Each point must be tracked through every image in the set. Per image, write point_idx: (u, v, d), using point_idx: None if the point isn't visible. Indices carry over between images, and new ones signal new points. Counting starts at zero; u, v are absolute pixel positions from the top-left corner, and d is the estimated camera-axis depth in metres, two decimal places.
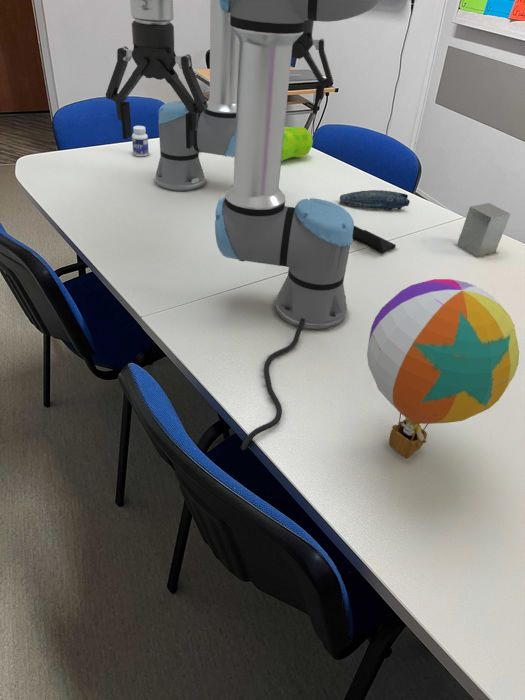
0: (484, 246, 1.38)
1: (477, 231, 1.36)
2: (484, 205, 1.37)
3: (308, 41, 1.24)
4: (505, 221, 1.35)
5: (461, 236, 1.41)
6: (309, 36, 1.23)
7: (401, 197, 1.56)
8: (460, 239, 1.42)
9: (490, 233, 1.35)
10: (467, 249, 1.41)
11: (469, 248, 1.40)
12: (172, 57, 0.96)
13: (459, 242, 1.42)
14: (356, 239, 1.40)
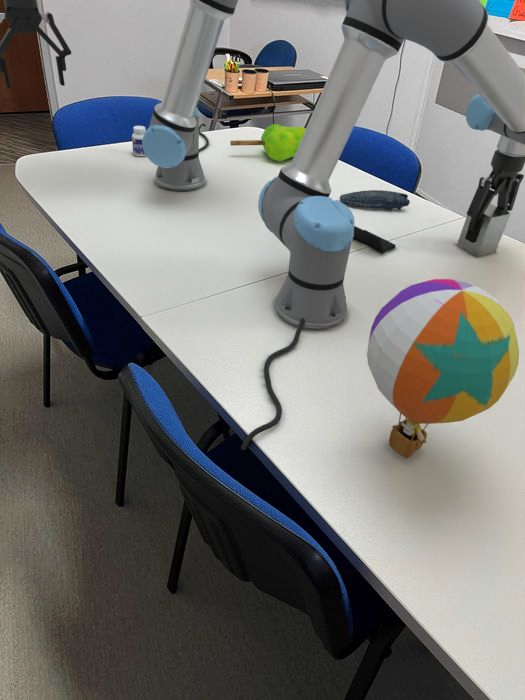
0: (484, 246, 1.38)
1: None
2: None
3: (515, 174, 1.30)
4: (505, 221, 1.35)
5: (461, 236, 1.41)
6: None
7: (401, 197, 1.56)
8: (460, 239, 1.42)
9: (490, 233, 1.35)
10: (467, 249, 1.41)
11: (469, 248, 1.40)
12: None
13: (459, 242, 1.42)
14: (356, 239, 1.40)
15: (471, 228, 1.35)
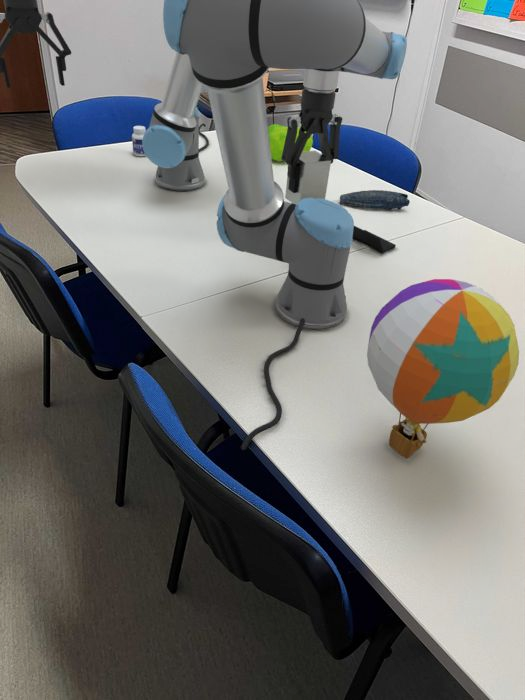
0: (306, 197, 1.27)
1: None
2: (307, 152, 1.27)
3: (330, 115, 1.19)
4: (326, 169, 1.25)
5: (287, 187, 1.31)
6: (330, 110, 1.19)
7: (401, 197, 1.56)
8: (286, 190, 1.31)
9: (309, 182, 1.24)
10: (292, 201, 1.30)
11: (293, 199, 1.29)
12: None
13: (286, 194, 1.32)
14: (356, 239, 1.40)
15: (289, 176, 1.25)
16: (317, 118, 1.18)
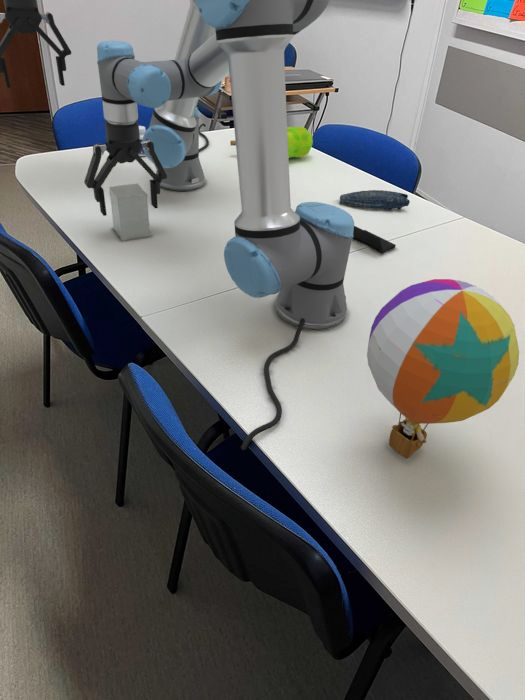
0: (128, 229, 1.30)
1: (116, 213, 1.29)
2: (127, 186, 1.30)
3: (138, 145, 1.22)
4: (143, 202, 1.28)
5: (113, 219, 1.34)
6: (138, 140, 1.21)
7: (401, 197, 1.56)
8: (113, 222, 1.34)
9: (127, 215, 1.28)
10: (117, 232, 1.33)
11: (118, 231, 1.32)
12: None
13: None
14: (356, 239, 1.40)
15: (96, 199, 1.25)
16: (124, 148, 1.21)
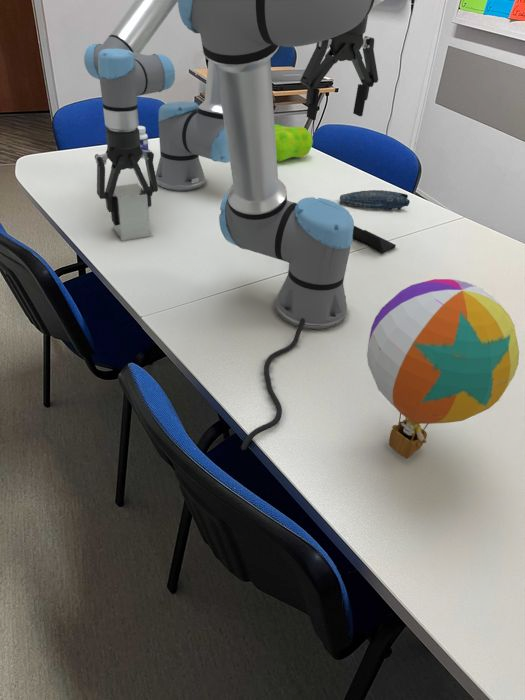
0: (128, 229, 1.30)
1: None
2: (127, 186, 1.30)
3: (361, 41, 1.14)
4: (143, 202, 1.28)
5: None
6: (361, 35, 1.14)
7: (401, 197, 1.56)
8: None
9: (127, 215, 1.28)
10: (117, 232, 1.33)
11: (118, 231, 1.32)
12: None
13: None
14: (356, 239, 1.40)
15: (308, 101, 1.17)
16: (348, 43, 1.13)
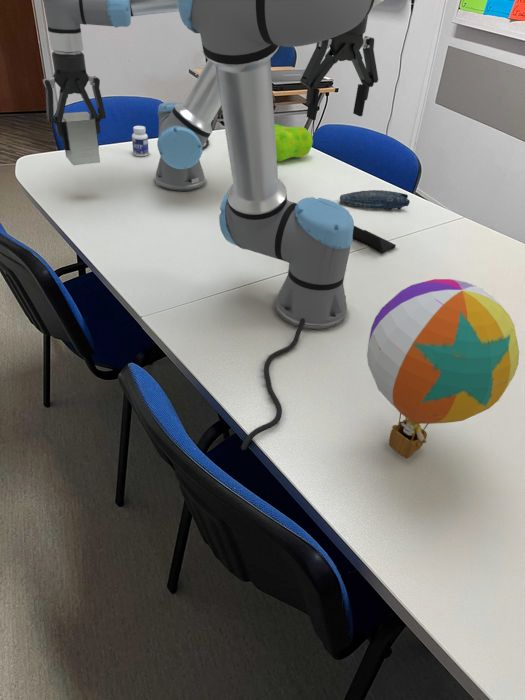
0: (78, 154, 1.38)
1: None
2: (76, 113, 1.38)
3: (361, 41, 1.14)
4: (92, 127, 1.36)
5: None
6: (361, 35, 1.14)
7: (401, 197, 1.56)
8: (65, 150, 1.42)
9: (76, 139, 1.36)
10: (69, 159, 1.41)
11: (69, 157, 1.40)
12: None
13: None
14: (356, 239, 1.40)
15: (308, 101, 1.17)
16: (348, 43, 1.13)
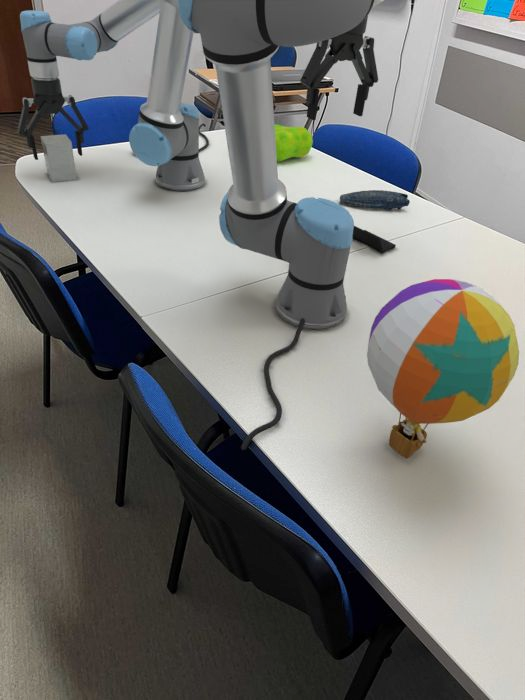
0: (56, 172, 1.55)
1: (46, 158, 1.54)
2: (56, 136, 1.55)
3: (361, 41, 1.14)
4: (69, 148, 1.53)
5: (46, 164, 1.59)
6: (361, 35, 1.14)
7: (401, 197, 1.56)
8: (46, 167, 1.60)
9: (55, 159, 1.53)
10: (49, 176, 1.58)
11: (49, 174, 1.58)
12: None
13: (47, 170, 1.60)
14: (356, 239, 1.40)
15: (308, 101, 1.17)
16: (348, 43, 1.13)
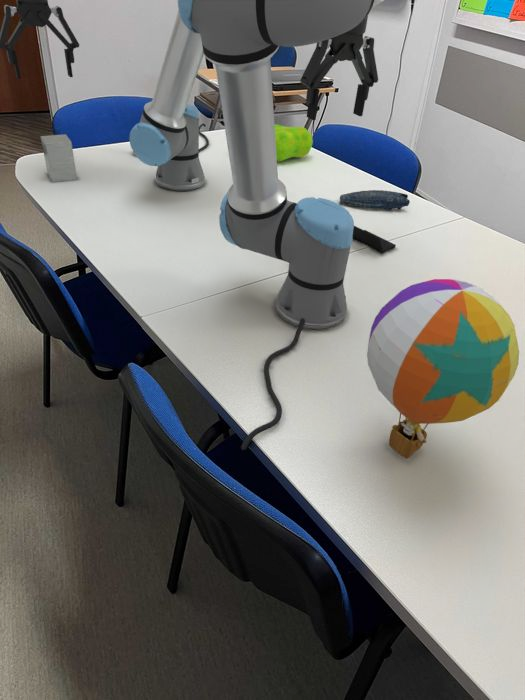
0: (56, 172, 1.55)
1: (46, 158, 1.54)
2: (56, 136, 1.55)
3: (361, 41, 1.14)
4: (69, 148, 1.53)
5: (46, 164, 1.59)
6: (361, 35, 1.14)
7: (401, 197, 1.56)
8: (46, 167, 1.60)
9: (55, 159, 1.53)
10: (49, 176, 1.58)
11: (49, 174, 1.58)
12: None
13: (47, 170, 1.60)
14: (356, 239, 1.40)
15: (308, 101, 1.17)
16: (348, 43, 1.13)
